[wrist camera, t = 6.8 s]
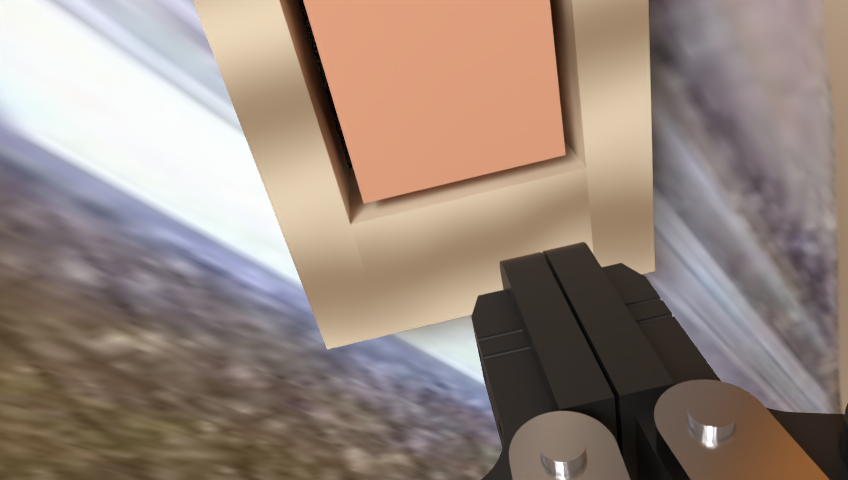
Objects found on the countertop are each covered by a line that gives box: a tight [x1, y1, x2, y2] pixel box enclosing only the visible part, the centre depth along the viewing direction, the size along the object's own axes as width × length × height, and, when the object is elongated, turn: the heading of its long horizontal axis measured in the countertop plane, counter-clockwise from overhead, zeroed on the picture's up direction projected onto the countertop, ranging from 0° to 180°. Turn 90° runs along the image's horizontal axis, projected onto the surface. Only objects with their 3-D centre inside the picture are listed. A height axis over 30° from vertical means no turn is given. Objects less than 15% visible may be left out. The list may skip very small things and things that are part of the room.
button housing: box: [193, 0, 655, 349], centre depth 24 cm, size 20×14×5 cm
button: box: [303, 0, 566, 204], centre depth 23 cm, size 8×8×4 cm
